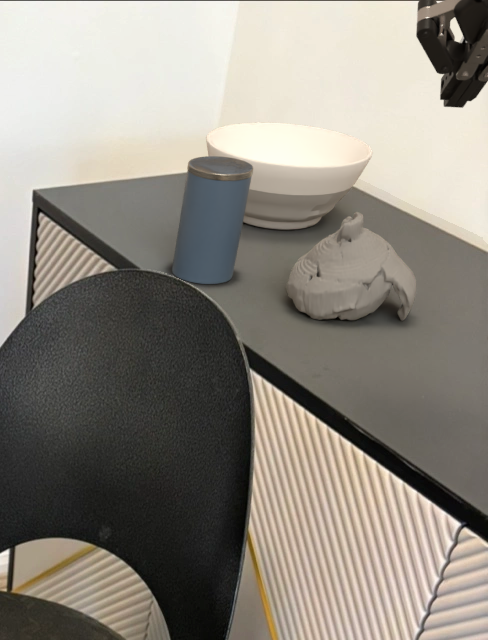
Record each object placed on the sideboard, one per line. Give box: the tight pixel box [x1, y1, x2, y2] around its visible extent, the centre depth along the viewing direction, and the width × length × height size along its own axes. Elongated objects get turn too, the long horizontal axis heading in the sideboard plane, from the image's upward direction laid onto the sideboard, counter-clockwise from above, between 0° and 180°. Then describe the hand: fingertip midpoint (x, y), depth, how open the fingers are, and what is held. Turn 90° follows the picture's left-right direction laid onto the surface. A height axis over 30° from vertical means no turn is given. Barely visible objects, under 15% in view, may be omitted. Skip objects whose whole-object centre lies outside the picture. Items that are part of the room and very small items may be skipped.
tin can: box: [171, 155, 254, 285], centre depth 118 cm, size 7×7×11 cm
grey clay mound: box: [285, 211, 417, 321], centre depth 112 cm, size 12×12×11 cm
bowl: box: [205, 121, 374, 231], centre depth 135 cm, size 19×19×8 cm
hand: (452, 96), depth 89 cm, fingers closed
